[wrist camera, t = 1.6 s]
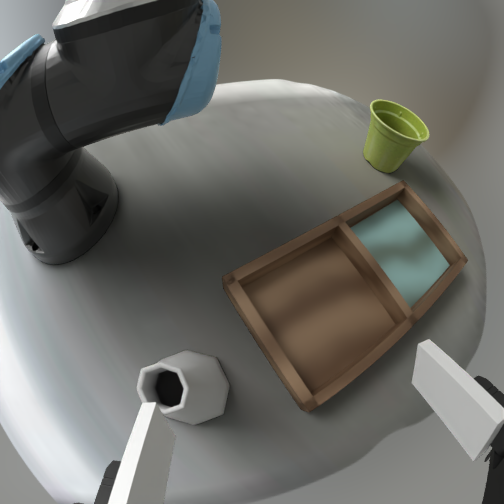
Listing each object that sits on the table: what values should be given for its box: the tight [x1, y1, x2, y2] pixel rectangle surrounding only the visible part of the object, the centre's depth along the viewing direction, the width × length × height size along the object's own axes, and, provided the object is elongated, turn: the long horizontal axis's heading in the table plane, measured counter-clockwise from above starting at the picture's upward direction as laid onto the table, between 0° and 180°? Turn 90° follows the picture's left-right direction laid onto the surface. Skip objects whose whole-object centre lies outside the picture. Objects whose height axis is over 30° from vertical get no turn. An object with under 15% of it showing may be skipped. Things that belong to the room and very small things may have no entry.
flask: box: [136, 350, 230, 425], centre depth 18 cm, size 7×7×10 cm
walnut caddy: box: [222, 180, 468, 412], centre depth 27 cm, size 14×27×3 cm, turn 121°
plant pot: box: [363, 100, 429, 173], centre depth 34 cm, size 9×9×9 cm
